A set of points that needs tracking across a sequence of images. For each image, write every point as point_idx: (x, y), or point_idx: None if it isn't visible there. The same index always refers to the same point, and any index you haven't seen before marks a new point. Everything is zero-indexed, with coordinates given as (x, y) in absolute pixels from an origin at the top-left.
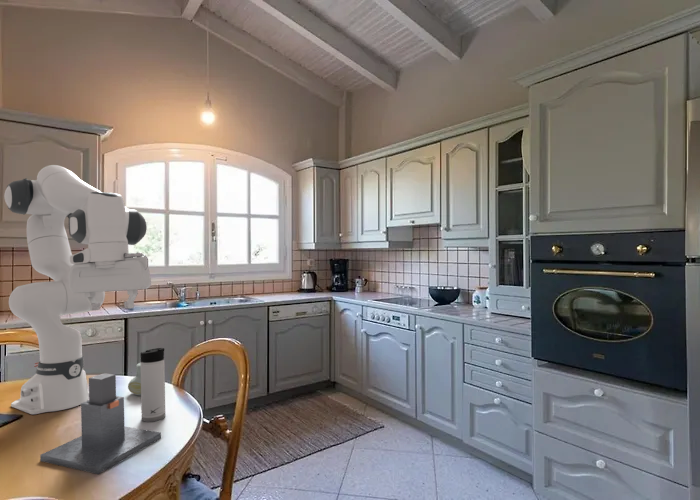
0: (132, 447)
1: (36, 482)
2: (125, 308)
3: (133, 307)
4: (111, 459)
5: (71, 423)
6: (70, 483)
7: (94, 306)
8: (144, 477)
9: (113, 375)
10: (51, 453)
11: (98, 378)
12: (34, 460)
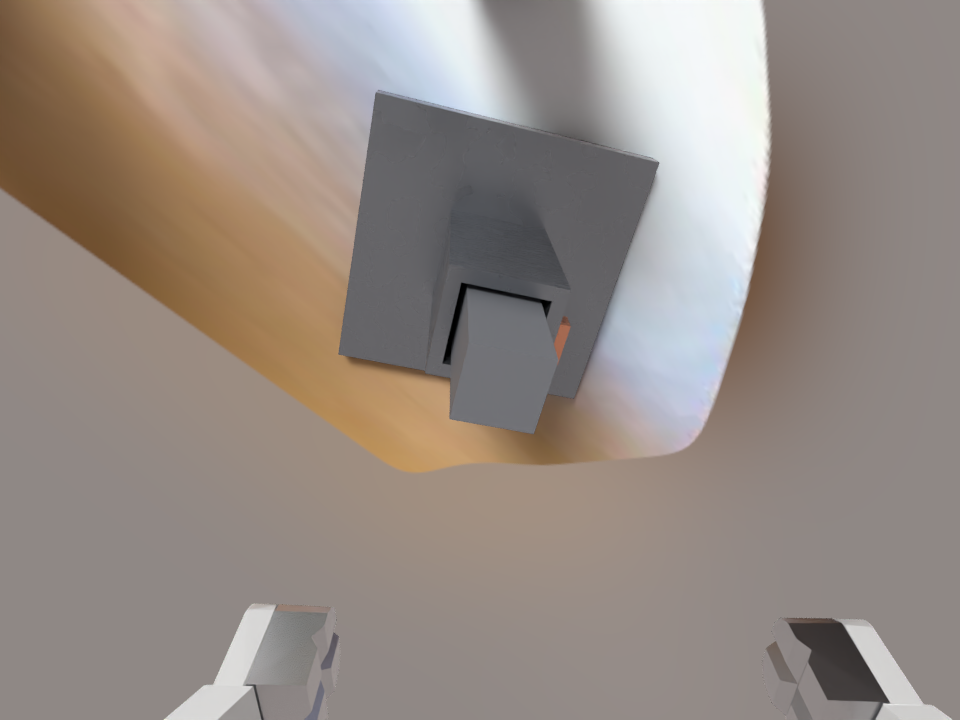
0: (610, 286)
1: (434, 433)
2: (766, 663)
3: (859, 624)
4: (585, 359)
5: (147, 36)
6: None
7: (324, 711)
8: (706, 390)
9: (554, 371)
10: (366, 344)
11: (506, 420)
12: (317, 341)
